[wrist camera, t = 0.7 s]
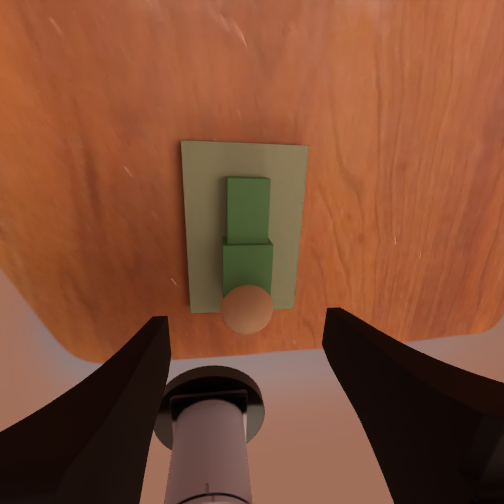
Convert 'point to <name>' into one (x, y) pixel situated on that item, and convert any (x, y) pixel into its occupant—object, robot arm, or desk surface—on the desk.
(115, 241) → the desk surface
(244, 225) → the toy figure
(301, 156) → the toy stand
